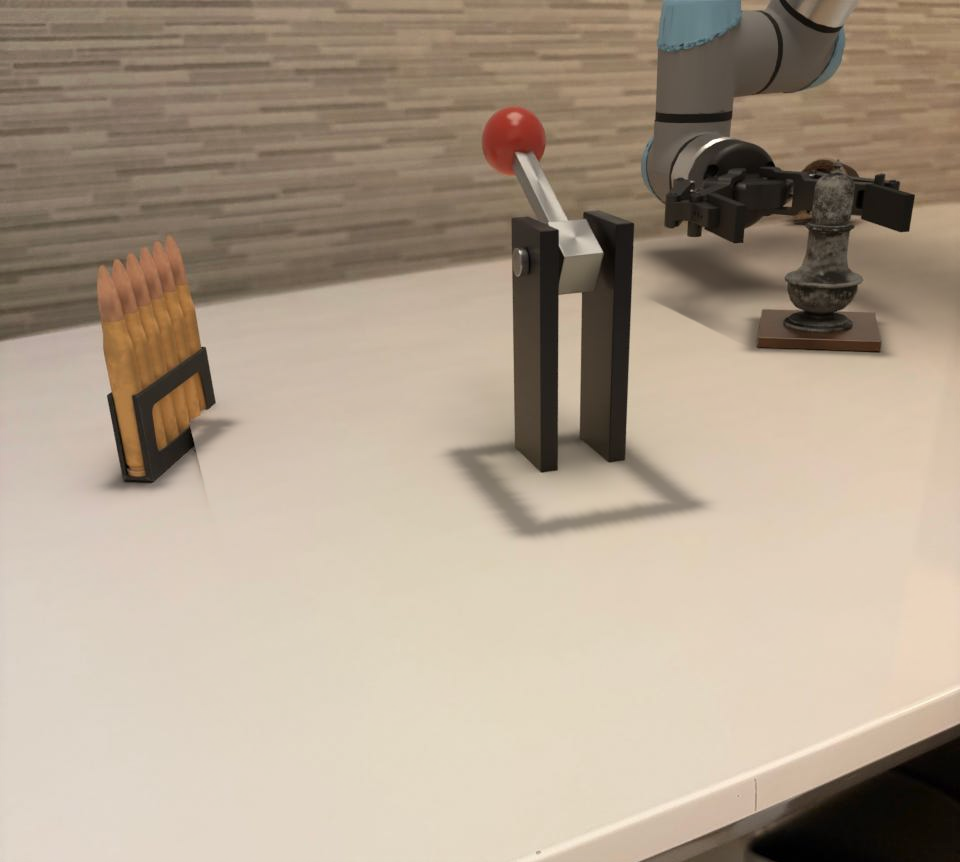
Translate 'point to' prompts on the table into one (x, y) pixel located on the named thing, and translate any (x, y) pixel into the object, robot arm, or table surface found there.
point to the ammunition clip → (152, 360)
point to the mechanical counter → (825, 167)
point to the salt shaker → (825, 260)
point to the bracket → (599, 340)
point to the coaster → (819, 333)
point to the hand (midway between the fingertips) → (825, 219)
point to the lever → (542, 193)
